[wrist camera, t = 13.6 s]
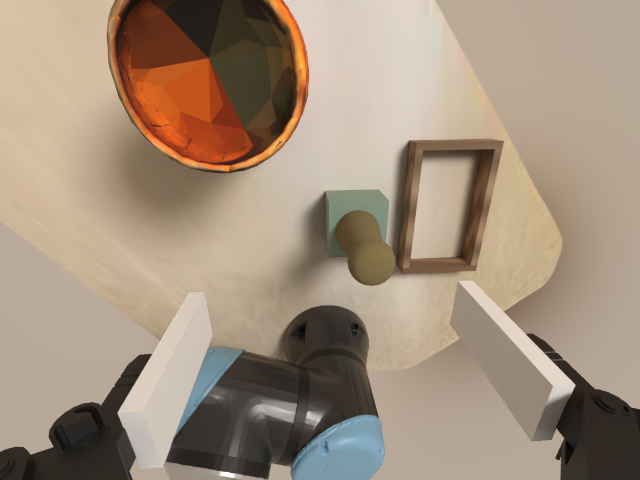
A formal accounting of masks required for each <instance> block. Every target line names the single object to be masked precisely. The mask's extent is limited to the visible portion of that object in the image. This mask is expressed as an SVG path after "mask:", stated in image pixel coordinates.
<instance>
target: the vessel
mask: <svg viewBox="0 0 640 480" xmlns="http://www.w3.org/2000/svg"><path fill="white" fill-rule="evenodd" d="M107 44H108V62H109V67H110V70H111V73H112V76H113V80H114V83H115V86H116V89H117V93H118V96H119V98H120V100H121V102H122V104H123V106H124V108H125V110H126V112H127V114H128V116H129V118H130V120H131V122H132V123H133V124H134V125H135V126H136V128H137V129H138V130H139V131H140V132H141V133H142V135H143V136H144V137H145V138H146V139H147V140H148V141H150V142H151V143H152V144H153V145H154V146H156V147H157V148H158V149H159V150H160V151H162V152H163V153H164V154H165V155H166V156H168V157H169V158H170V159H172V160H174V161H176V162H178V163H180V164H182V165H184V166H186V167H189V168H191V169H196V170H200V171H206V172H213V173H232V172H237V171H244V170H247V169H250V168H252V167H255V166H257V165H259V164H261V163H262V162H264V161H265V160H267V159H269V158H270V157H272V156H273V155H274V154H275V153H276V152H277V151H279V150H280V149H281V148H282V147H283V146H284V144H285V143H286V142H287V141H288V140H289V138H290V137H291V135H292V134H293V132H294V130H295V129H296V127H297V125H298V123H299V121H300V118H301V116H302V114H303V111H304V108H305V104H306V102H307V97H308V83H309V68H308V59H307V51H306V47H305V44H304V40H303V37H302V34H301V31H300V29H299V26H298V24H297V22H296V20H295V19H294V17H293V15H292V13H291V12H290V10H289V8H288V6H287V5H286V4H285V2H284V1H283V0H115V2H114V4H113V6H112V8H111V11H110V15H109V19H108V27H107Z"/></svg>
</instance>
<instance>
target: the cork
mask: <svg viewBox="0 0 640 480" xmlns="http://www.w3.org/2000/svg"><path fill="white" fill-rule="evenodd" d="M335 232H336V238H337V240H338V242H339V244H340V245H341V247H342V248H343V250H344V251H345V253H346V254H347V256H348V257H349V258H348V268H349V271H350V273H351V275H352V276H353V277H354V278H355V279H356V280H357V281H358V282H360V283H362V284H364V285H371V286H373V285H379V284H381V283H383V282H385V281H386V280H388V279H389V278H390V276H391V275H392V274H393V272H394V269H395V266H396V263H395V255H394V253H393V251H392V249H391V248H390V247H389V246H388V245H387V244H386V243H384V242H383V239H382V236H381V232H380V228H379V225H378V222H377V220H376V218H375V217H374V216H373V215H372V214H370V213H368V212H366V211H361V210H356V211H351V212H349V213H347V214H345V215H344V216H343V217H342V218H341V219H340V220H339V222H338V224H337V226H336V231H335Z"/></svg>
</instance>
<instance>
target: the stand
mask: <svg viewBox="0 0 640 480" xmlns="http://www.w3.org/2000/svg"><path fill="white" fill-rule="evenodd" d="M388 208H389V200H388V199H387V198H386V197H385V196H384V195H383V194H382V193H381V192H380V191H379V190H346V191H326V244H327V249H328V254H329V257H341V256H347V254H346V253H345V251H344V250H343V248H342V247H341V245H340V244H339V242H338V240H337V238H336V232H335V231H336V226H337V224H338V222H339V220H340V219H341V218H342V217H343V216H344V215H345V214H347V213H349V212H351V211H356V210H361V211H366V212H368V213H370V214H372V215H373V216H374V217H375V218H376V220H377V222H378V225H379V228H380V232H381V236H382V239H383V242H384V243H386V233H387V220H388Z"/></svg>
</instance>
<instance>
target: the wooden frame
mask: <svg viewBox="0 0 640 480" xmlns="http://www.w3.org/2000/svg"><path fill="white" fill-rule="evenodd" d="M503 143H504V141H500V140H494V139H465V140H413V141H409V150H408V160H407V170H406V180H405V190H404V200H403V210H402V220H401V230H400V240H399V250H398V260H397V266H398V267H399V269H400V270H401V272H402V274H408V273H432V272H457V271H476V267H477V263H478V258H479V253H480V249H481V244H482V240H483V235H484V230H485V226H486V221H487V216H488V212H489V207H490V203H491V198H492V193H493V189H494V184H495V180H496V175H497V170H498V166H499V161H500V157H501V152H502V147H503ZM470 149H483V150H482V155H481V160H480V165H479V170H478V175H477V181H476V186H475V191H474V196H473V201H472V207H471V212H470V217H469V222H468V227H467V233H466V238H465V243H464V248H463V253H462V257H450V258H424V259H410V258H411V249H412V241H413V232H414V224H415V216H416V207H417V199H418V190H419V182H420V173H421V165H422V156H423V150H470Z"/></svg>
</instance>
